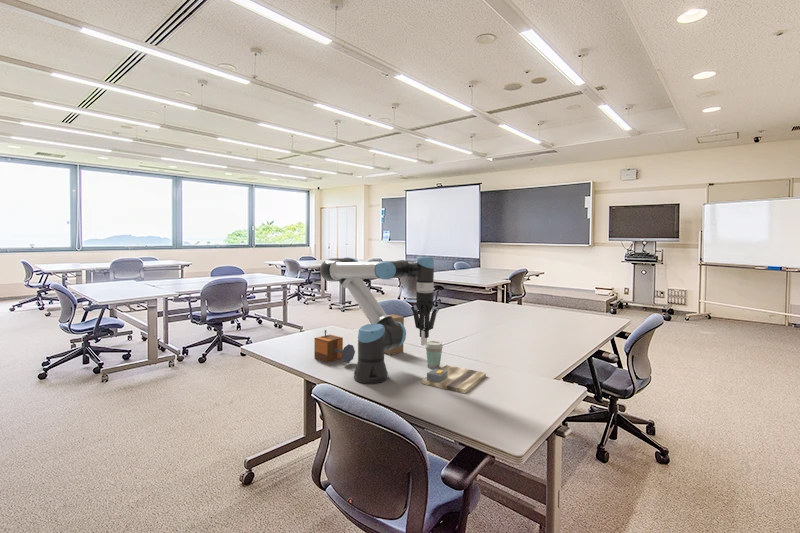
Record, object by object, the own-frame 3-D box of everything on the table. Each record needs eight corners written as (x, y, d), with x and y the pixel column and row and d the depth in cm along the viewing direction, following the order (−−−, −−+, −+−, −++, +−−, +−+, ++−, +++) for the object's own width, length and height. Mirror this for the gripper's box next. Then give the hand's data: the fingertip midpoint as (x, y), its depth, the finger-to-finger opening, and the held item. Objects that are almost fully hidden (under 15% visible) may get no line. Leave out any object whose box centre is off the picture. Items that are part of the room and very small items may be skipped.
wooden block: (391, 348, 223) (392, 313, 222) (403, 352, 216) (404, 316, 214) (378, 351, 216) (378, 315, 215) (390, 355, 209) (390, 318, 208)
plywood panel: (421, 383, 167) (421, 379, 167) (446, 368, 189) (446, 364, 189) (464, 393, 157) (464, 389, 157) (486, 376, 178) (486, 372, 178)
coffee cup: (445, 367, 190) (446, 343, 190) (435, 371, 184) (435, 346, 183) (432, 363, 196) (432, 339, 195) (421, 367, 190) (421, 342, 189)
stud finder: (426, 380, 167) (426, 372, 167) (435, 374, 174) (435, 367, 174) (439, 382, 164) (439, 374, 164) (447, 377, 171) (447, 369, 171)
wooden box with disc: (340, 366, 189) (340, 337, 188) (314, 358, 201) (314, 331, 200) (356, 361, 197) (356, 334, 196) (330, 354, 209) (330, 328, 209)
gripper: (407, 291, 171) (407, 344, 172) (434, 293, 164) (433, 348, 165) (416, 289, 177) (415, 340, 178) (442, 292, 170) (441, 345, 172)
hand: (424, 344), depth 172 cm, fingers closed
